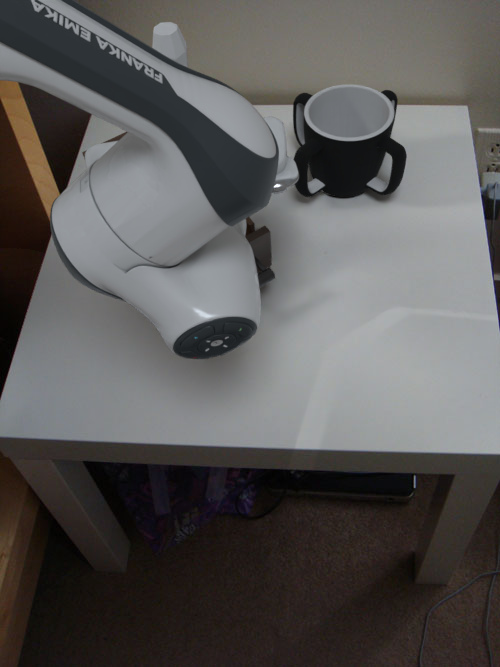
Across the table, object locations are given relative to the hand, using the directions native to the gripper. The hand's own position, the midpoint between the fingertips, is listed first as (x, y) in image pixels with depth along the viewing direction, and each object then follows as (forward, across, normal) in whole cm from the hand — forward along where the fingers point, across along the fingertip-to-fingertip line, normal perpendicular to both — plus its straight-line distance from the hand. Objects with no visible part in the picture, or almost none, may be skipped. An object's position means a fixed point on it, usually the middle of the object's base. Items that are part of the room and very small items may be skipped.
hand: (181, 114), depth 64 cm
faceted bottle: (-1, 0, +12) cm, 12 cm away
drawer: (-2, -1, +23) cm, 23 cm away
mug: (+11, -22, +24) cm, 34 cm away
